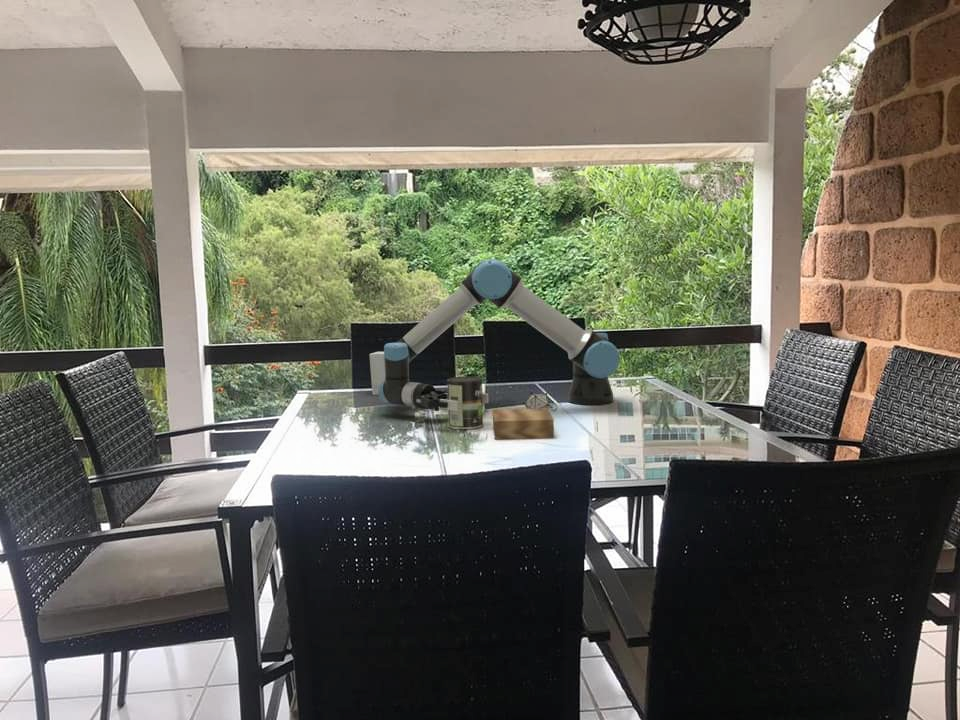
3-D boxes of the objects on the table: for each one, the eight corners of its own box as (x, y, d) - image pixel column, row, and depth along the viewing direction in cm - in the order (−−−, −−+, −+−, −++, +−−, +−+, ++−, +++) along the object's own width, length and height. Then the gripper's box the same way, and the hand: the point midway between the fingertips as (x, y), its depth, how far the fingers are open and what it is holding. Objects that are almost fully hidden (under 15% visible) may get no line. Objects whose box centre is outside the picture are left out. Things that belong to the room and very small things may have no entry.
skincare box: (399, 393, 289) (398, 351, 287) (390, 396, 283) (388, 353, 281) (380, 392, 293) (378, 350, 291) (370, 395, 287) (368, 353, 285)
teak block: (547, 425, 228) (547, 408, 227) (553, 437, 212) (553, 419, 211) (493, 426, 228) (492, 409, 227) (494, 439, 212) (494, 421, 211)
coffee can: (486, 422, 234) (485, 376, 232) (479, 430, 224) (478, 381, 222) (452, 422, 236) (451, 376, 234) (444, 429, 226) (443, 381, 224)
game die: (543, 429, 239) (562, 402, 239) (536, 425, 231) (556, 397, 232) (520, 413, 243) (539, 387, 243) (513, 408, 235) (532, 381, 235)
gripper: (447, 401, 250) (499, 407, 237) (391, 414, 231) (444, 422, 218) (446, 378, 249) (499, 383, 236) (390, 389, 230) (443, 396, 217)
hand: (473, 402), depth 227 cm, fingers open, 13 cm apart
